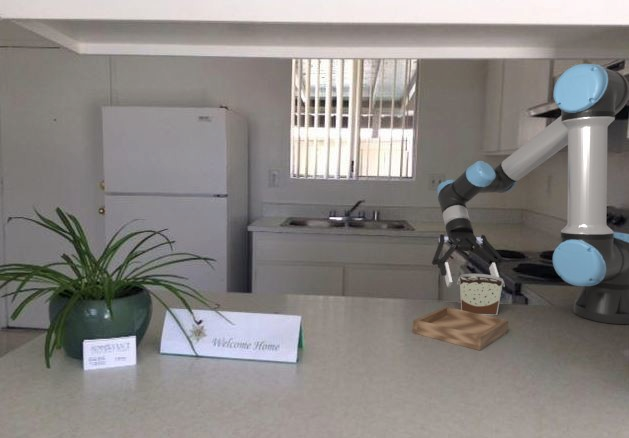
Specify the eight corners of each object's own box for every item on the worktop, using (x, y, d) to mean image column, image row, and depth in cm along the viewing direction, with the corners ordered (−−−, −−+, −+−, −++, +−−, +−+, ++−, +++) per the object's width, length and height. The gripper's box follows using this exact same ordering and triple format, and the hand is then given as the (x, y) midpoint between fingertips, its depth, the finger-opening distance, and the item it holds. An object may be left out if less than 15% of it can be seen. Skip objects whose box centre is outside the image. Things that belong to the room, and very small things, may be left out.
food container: (496, 309, 140) (499, 274, 139) (502, 315, 134) (505, 279, 133) (451, 307, 141) (453, 272, 140) (455, 313, 135) (457, 277, 134)
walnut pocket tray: (507, 332, 120) (508, 320, 120) (480, 350, 108) (480, 337, 107) (444, 317, 131) (445, 306, 130) (412, 332, 118) (413, 320, 118)
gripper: (493, 232, 155) (512, 292, 142) (414, 231, 153) (426, 291, 140) (502, 217, 149) (523, 277, 136) (420, 215, 147) (432, 277, 134)
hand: (473, 285), depth 138 cm, fingers open, 13 cm apart
